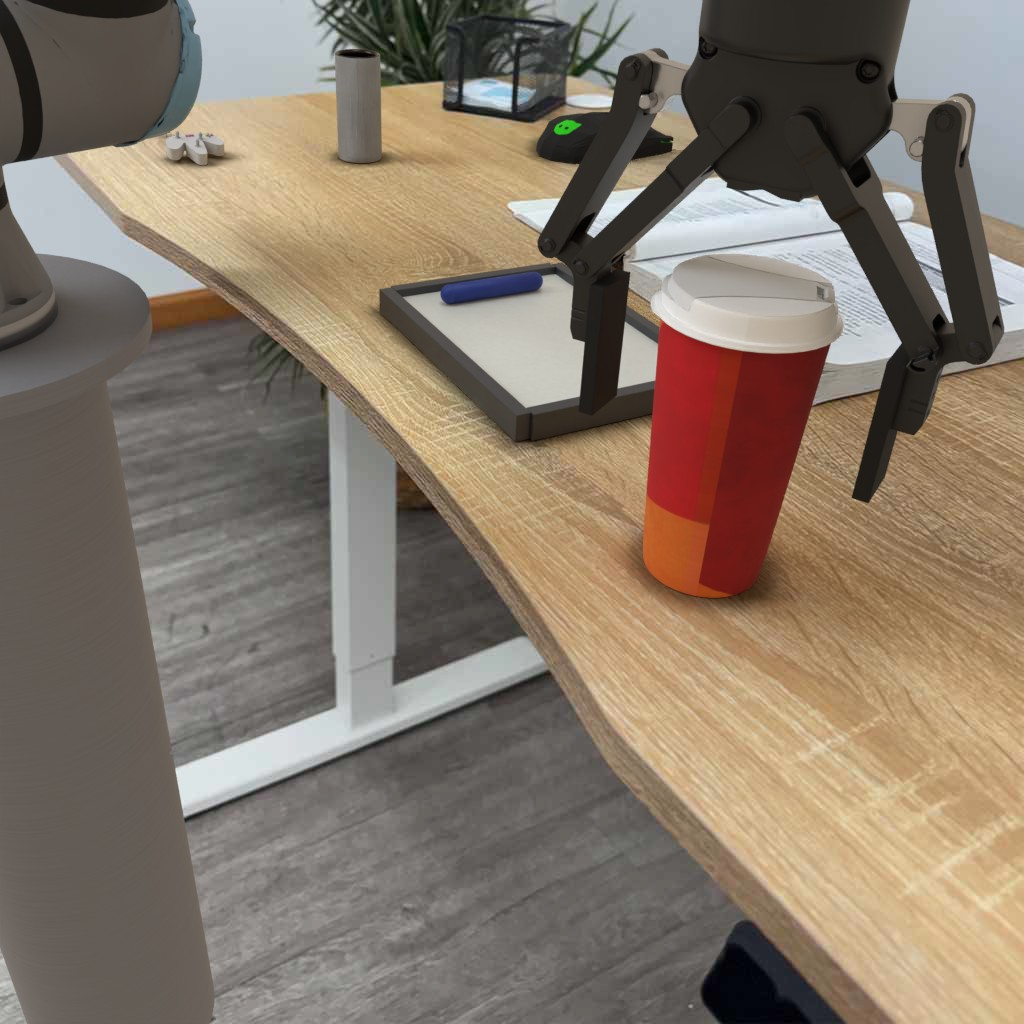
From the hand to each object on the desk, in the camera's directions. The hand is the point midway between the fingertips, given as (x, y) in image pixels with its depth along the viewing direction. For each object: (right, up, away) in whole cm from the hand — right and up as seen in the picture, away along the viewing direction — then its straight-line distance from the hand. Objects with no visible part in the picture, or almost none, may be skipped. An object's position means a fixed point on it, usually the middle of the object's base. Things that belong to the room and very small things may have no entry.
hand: (725, 444), depth 50 cm
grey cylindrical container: (-26, +34, +62) cm, 75 cm away
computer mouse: (-1, +38, +70) cm, 80 cm away
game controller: (-44, +34, +61) cm, 83 cm away
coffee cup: (-1, -6, +4) cm, 7 cm away
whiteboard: (-8, +8, +24) cm, 27 cm away
